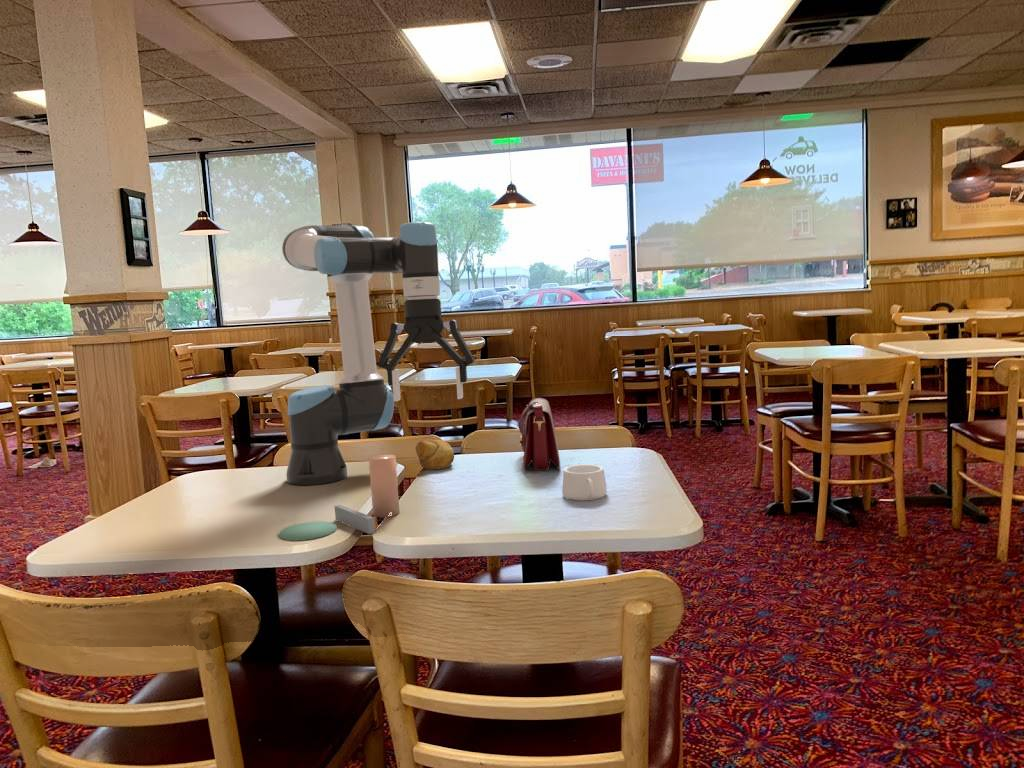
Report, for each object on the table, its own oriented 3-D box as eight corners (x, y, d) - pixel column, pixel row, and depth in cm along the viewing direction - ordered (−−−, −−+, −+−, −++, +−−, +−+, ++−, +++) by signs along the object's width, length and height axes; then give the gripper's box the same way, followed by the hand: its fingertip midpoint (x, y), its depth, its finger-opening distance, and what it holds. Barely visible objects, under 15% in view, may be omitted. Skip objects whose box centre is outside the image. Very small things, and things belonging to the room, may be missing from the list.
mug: (558, 492, 169) (557, 465, 168) (600, 488, 170) (599, 462, 169) (569, 506, 157) (568, 478, 156) (615, 502, 158) (614, 474, 158)
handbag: (520, 452, 214) (517, 391, 212) (558, 450, 214) (555, 389, 212) (518, 475, 187) (514, 405, 185) (560, 473, 186) (557, 403, 184)
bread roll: (423, 461, 209) (421, 433, 208) (458, 460, 208) (456, 431, 207) (415, 472, 196) (413, 442, 195) (452, 470, 196) (450, 440, 195)
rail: (335, 520, 155) (334, 505, 155) (340, 518, 156) (339, 504, 156) (369, 534, 145) (368, 518, 144) (374, 532, 145) (373, 517, 145)
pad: (270, 532, 149) (269, 530, 149) (321, 519, 156) (321, 518, 156) (293, 544, 141) (293, 542, 141) (346, 530, 148) (346, 528, 148)
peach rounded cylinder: (368, 514, 159) (363, 458, 157) (390, 508, 162) (386, 453, 161) (381, 519, 154) (377, 461, 153) (404, 513, 158) (400, 456, 157)
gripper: (358, 301, 155) (366, 403, 157) (478, 295, 152) (484, 399, 154) (369, 301, 162) (376, 398, 165) (484, 295, 159) (489, 394, 162)
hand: (428, 399), depth 160 cm, fingers open, 13 cm apart
